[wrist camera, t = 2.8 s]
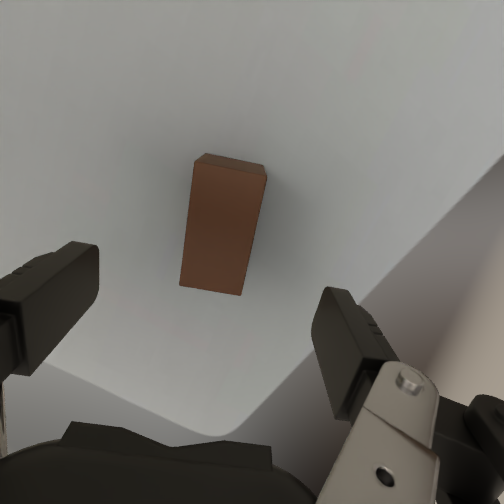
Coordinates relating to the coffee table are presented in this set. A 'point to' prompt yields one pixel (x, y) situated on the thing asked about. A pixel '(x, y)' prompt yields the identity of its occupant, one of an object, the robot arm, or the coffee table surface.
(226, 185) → the brown rectangular block
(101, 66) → the coffee table surface
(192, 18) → the coffee table surface
